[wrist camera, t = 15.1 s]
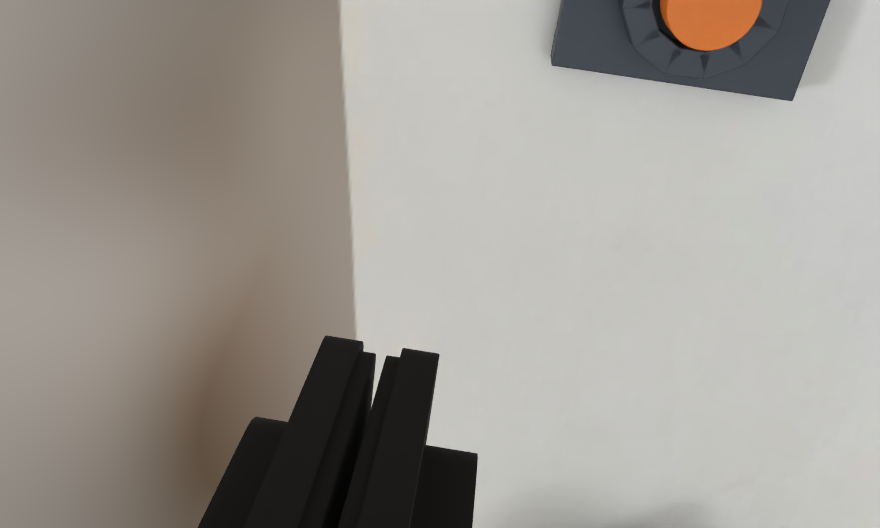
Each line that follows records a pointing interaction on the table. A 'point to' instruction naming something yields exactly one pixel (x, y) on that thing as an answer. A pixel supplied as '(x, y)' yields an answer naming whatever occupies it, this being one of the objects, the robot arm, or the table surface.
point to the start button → (709, 21)
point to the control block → (668, 60)
